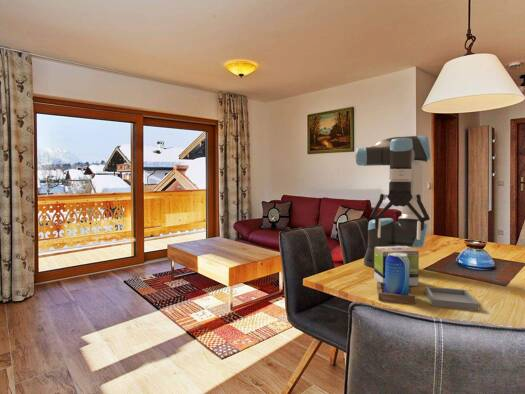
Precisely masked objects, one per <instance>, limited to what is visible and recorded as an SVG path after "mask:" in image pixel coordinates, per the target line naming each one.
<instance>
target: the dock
mask: <svg viewBox="0 0 525 394" xmlns="http://www.w3.org/2000/svg"><path fill="white" fill-rule="evenodd" d="M382 289H383V290H384V291H385V283H383V282H377V281H376V290H377V298H378V301H383V302H391V303H392V302H393V303H401V304H402V303H403V304H410V305H411V304H412V305H416V296H415V295H410V294H409V295H400V294H389V293H386V292H383V291H382ZM409 293H411V286H410V285H409Z"/></svg>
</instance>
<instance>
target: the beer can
mask: <svg viewBox="0 0 525 394" xmlns="http://www.w3.org/2000/svg"><path fill="white" fill-rule="evenodd" d="M388 254H389V255H388V256H387V257H386V264H385V290H384V293H389V294H400V295H410V294H409V293H410V292H409V273H410V260H409V259H408V257H407V254H405V253H401V252H389V253H388Z"/></svg>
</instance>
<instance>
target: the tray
mask: <svg viewBox="0 0 525 394" xmlns="http://www.w3.org/2000/svg"><path fill="white" fill-rule="evenodd" d="M424 286H425V290H424V293H425V295H426V296H427V298H428V300H429V302H430V304H431V306H432V307H437V308H446V309H447V308H448V309H457V310H467V311H477V312H479V310H480V307H479V306H480V304H479V302H478V301H477V300H476V299H475V298H474V297H473V295H472V294H471V293H470V292H469V291H468V290H467V289H464V288H463V289H462V288H461V289H459V288H452V287H451V288H450V287H439V286H438V287H436V286H430V285H429V286H427V285H424Z"/></svg>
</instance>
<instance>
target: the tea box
mask: <svg viewBox="0 0 525 394" xmlns="http://www.w3.org/2000/svg"><path fill="white" fill-rule="evenodd" d="M389 252H401V253H405V254H407V257H408V259H409V260H410V273H409V285H410V286H414V287H415V286H419V279H420V278H419V268H420V267H419V262H420V260H419V256H420V255H419V254H420V252H419V250H416V248H414V247H413V248H412V247H408V246H395V245H392V246H386V247H374V267H373V272H374V275H373V276H374V277H373V278H374V280H375V281H376V283H377V282H383V283H385V264H386V257H387V256H388V255H389V254H388V253H389Z"/></svg>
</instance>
